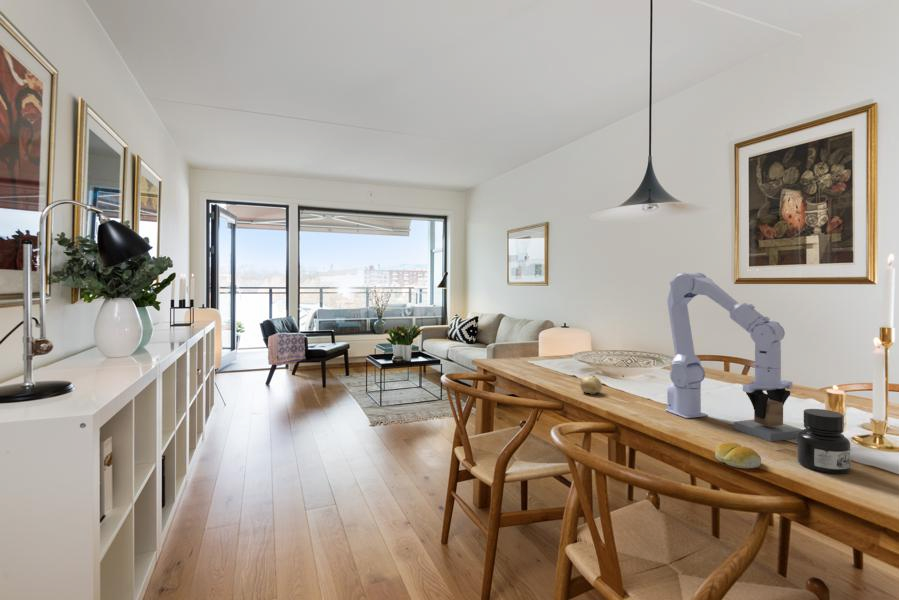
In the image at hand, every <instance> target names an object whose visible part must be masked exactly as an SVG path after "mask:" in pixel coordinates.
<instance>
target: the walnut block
mask: <svg viewBox="0 0 899 600" xmlns="http://www.w3.org/2000/svg"><path fill="white" fill-rule="evenodd" d="M753 411H754V410H753ZM753 415H754V422H756V423H759V424H762V425H766V426H769V427H772V426H781V425H783V424H784V405H783V403H782V402H778V401H774V400H770V399H768V401H767V405H766V415H765V418H764V419H762V418H759V417H756V415H755V411H754V414H753Z"/></svg>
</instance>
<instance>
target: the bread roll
mask: <svg viewBox="0 0 899 600" xmlns="http://www.w3.org/2000/svg"><path fill="white" fill-rule="evenodd" d="M714 456H715V459H716V460H717V461H719V462H720V463H724V464H726V465H728V466H730V467H733V468H739V469H755V468H759V467H760V466H761V465H762V457H761V455H759V453H758V452H756V451H755V450H754V449H753V448H751V447H747V446H743V445H741V444H739V443H736V442H735V443H734V442H723V443H720V444H718V445H717V446H716V448H715V450H714Z"/></svg>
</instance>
